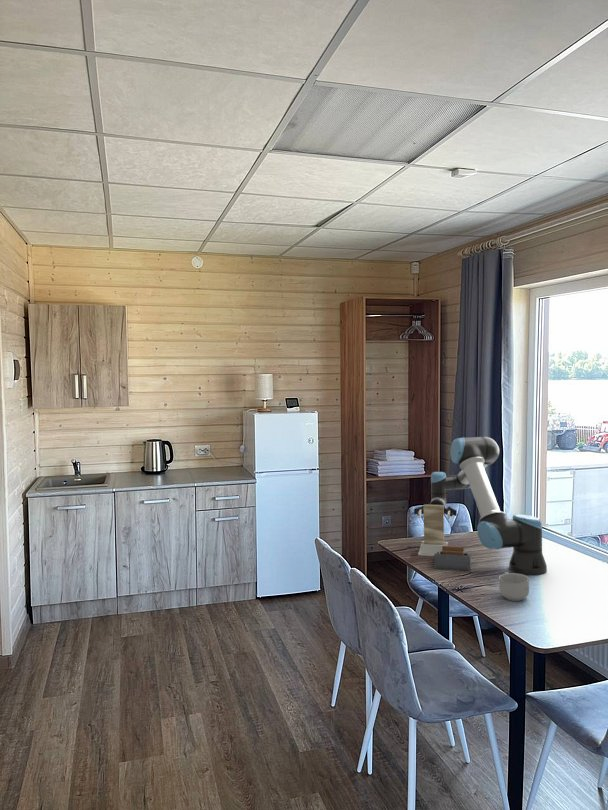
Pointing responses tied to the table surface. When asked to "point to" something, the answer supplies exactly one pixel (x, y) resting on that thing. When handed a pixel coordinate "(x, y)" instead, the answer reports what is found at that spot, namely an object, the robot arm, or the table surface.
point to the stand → (430, 549)
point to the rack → (452, 561)
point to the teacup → (514, 586)
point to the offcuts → (453, 550)
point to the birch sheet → (433, 524)
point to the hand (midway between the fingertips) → (433, 515)
